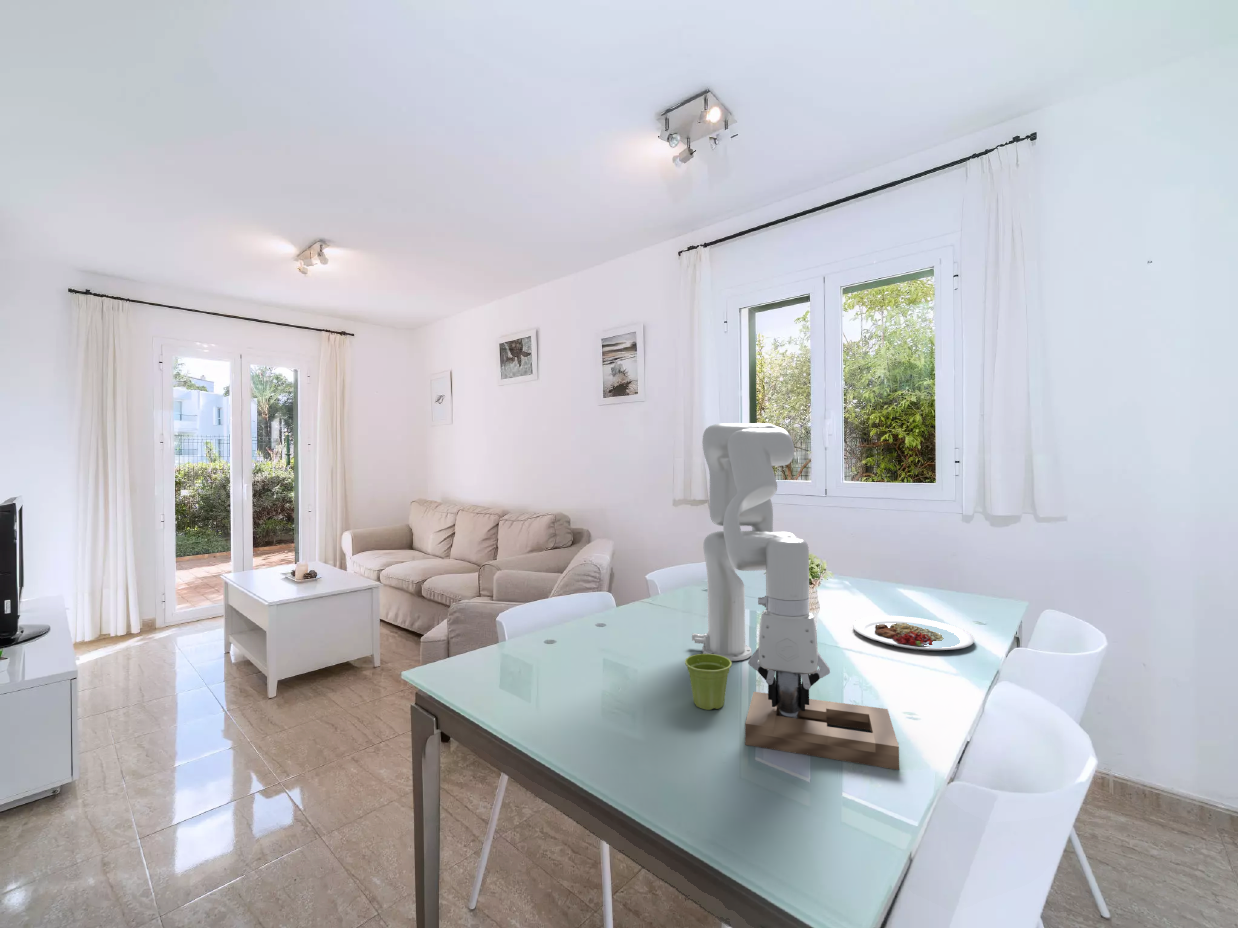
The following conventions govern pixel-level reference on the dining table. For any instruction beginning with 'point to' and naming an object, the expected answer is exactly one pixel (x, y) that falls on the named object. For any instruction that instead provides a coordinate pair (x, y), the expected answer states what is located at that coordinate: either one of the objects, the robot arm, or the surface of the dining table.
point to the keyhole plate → (825, 731)
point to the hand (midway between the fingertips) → (788, 704)
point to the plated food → (909, 632)
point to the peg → (788, 693)
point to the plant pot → (708, 679)
